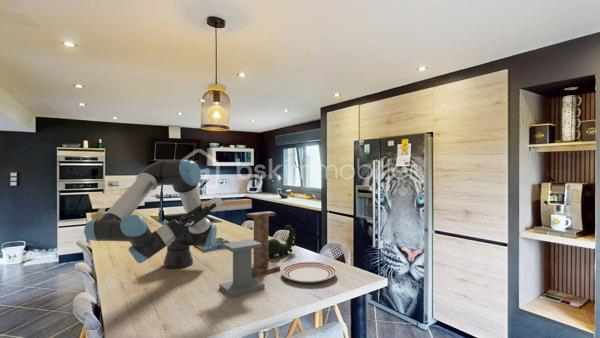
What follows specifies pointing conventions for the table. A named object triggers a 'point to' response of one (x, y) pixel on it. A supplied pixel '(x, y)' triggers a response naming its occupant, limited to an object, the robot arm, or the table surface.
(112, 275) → the table surface
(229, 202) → the brown and gray block
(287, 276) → the dinner plate
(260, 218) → the tall stand
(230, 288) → the low stand
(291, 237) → the dark green knobbed ball
